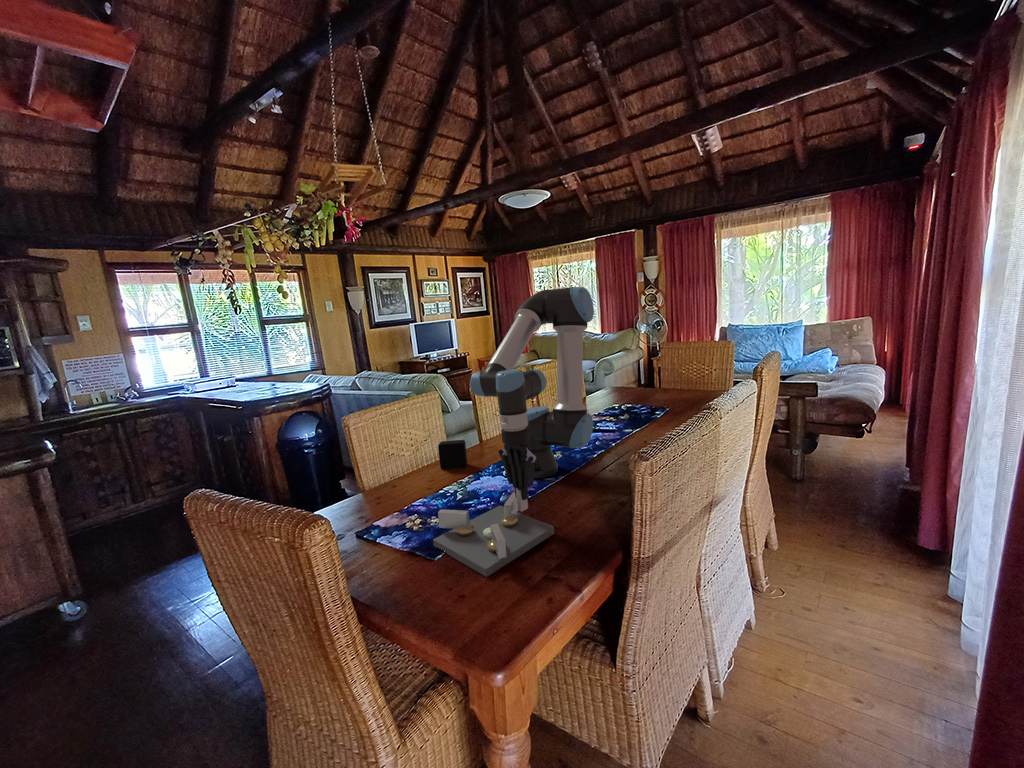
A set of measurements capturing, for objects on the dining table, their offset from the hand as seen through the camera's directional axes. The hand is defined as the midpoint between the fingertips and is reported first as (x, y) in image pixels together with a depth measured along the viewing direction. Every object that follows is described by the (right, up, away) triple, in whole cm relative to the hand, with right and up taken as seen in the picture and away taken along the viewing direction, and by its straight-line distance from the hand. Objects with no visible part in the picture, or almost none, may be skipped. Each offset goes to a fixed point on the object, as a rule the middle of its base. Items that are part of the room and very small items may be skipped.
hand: (523, 509), depth 124 cm
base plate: (-8, -6, -6) cm, 12 cm away
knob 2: (-6, -6, -16) cm, 18 cm away
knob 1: (-18, -4, -5) cm, 19 cm away
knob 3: (-3, -2, 0) cm, 4 cm away
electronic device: (-26, +2, +50) cm, 56 cm away
